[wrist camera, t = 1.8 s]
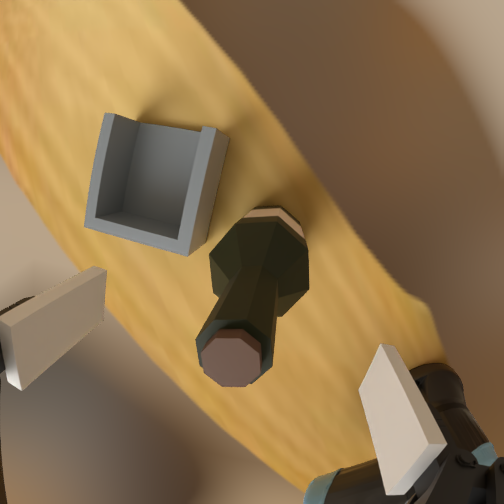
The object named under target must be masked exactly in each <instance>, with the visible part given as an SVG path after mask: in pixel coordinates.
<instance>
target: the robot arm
mask: <svg viewBox="0 0 504 504" xmlns="http://www.w3.org/2000/svg"><path fill="white" fill-rule="evenodd" d="M106 276H107V270H105V269H102V268H99V267H96V266H93V267H91V268H89V269H87V270H85V271H83V272H81V273H79V274H77V275H75V276H73V277H72V278H69V279H68V280H65V281H64V282H62V283H60V284H58V285H56V286H54V287H52V288H51V289H48V290H46V291H45V292H43V293H41V294H39V295H37V296H32V297H28V298H24V299H22V300H20V301H18V302H16V303H15V304H13V305H11V306H9V308H8V307H7V308H5V309H3V310H1V311H0V373H1V372H3V371H4V370H5V371H6V375H7V380H8V382H9V383H11V384H12V385H13V386H15V387H17V388H18V389H20V390H21V391H22V390H23V389H24V388H26V387H27V386H28V385H29V384H30V383H31V382H32V381H34V380H35V379H36V378H37V377H38V376H39V375H40V374H41V373H43V372H44V371H45V370H46V369H47V368H48V367H49V366H51V365H52V364H53V363H54V362H55V361H57V360H58V359H59V358H60V357H61V356H62V355H63V354H65V353H66V352H67V351H68V350H69V349H70V348H72V347H73V346H74V345H75V344H76V343H78V342H79V341H80V340H81V339H82V338H84V337H85V336H86V335H87V334H88V333H89V332H91V331H92V330H93V329H94V328H95V327H97V326H98V325H99V324H100V323H101V322H103V321H104V304H105V288H106ZM0 389H1V379H0ZM359 394H360V397H361V401H362V404H363V408H364V411H365V415H366V418H367V422H368V426H369V429H370V433H371V437H372V440H373V444H374V448H375V452H376V456H377V458H376V459H373V460H370V461H367V462H364V463H361V464H358V465H355V466H351V467H348V468H341V469H338V470H336V471H334V472H331V473H328V474H325V475H322V476H319V477H317V478H315V479H314V480H313V481H312V482H311V483H310V484H309V486H308V488H307V490H306V493H305V497H304V502H303V504H504V457H500V458H498V457H497V455H496V453H495V451H494V447H493V444H491V442H489V440H488V438H487V437H486V435H485V434H484V432H483V431H482V429H481V428H480V426H479V425H478V423H477V421H476V420H475V418H474V417H473V415H472V414H471V413H470V411H469V410H468V408H467V407H466V402H465V398H464V393H463V384H462V382H461V379H460V378H459V376H458V375H457V373H456V372H455V371H454V370H453V369H452V368H451V367H449V366H447V365H445V364H440V363H432V364H426V365H422V366H420V367H417V368H415V369H413V370H411V371H408V369H407V367H406V365H405V364H404V362H403V360H402V358H401V357H400V355H399V353H398V351H397V350H396V348H395V346H392V345H386V344H381V343H380V345H379V348H378V350H377V352H376V354H375V356H374V359H373V361H372V363H371V365H370V367H369V369H368V371H367V374H366V376H365V378H364V380H363V382H362V384H361V386H360V388H359ZM0 504H7V498H6V492H5V485H4V477H3V468H2V456H1V440H0Z"/></svg>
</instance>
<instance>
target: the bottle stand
mask: <svg viewBox="0 0 504 504" xmlns="http://www.w3.org/2000/svg"><path fill="white" fill-rule="evenodd" d="M229 140H230V138H229V137H227V136H226V135H225V134H223V133H222V132H220V131H219V130H218V129H216V128H211V127H206V126H203V127H202V131H201V132H198V131H192V130H186V129H180V128H174V127H168V126H161V125H155V124H147V123H140V122H137V121H134V120H132V119H129V118H126V117H123V116H120V115H117V114H112V113H105V114H104V118H103V122H102V127H101V131H100V135H99V140H98V144H97V149H96V154H95V159H94V164H93V170H92V175H91V181H90V187H89V193H88V200H87V207H86V215H85V223H84V227H86V228H89V229H93V230H96V231H100V232H103V233H106V234H110V235H113V236H117V237H120V238H124V239H127V240H131V241H134V242H138V243H141V244H145V245H148V246H152V247H155V248H159V249H162V250H166V251H170V252H173V253H177V254H180V255H184V256H189V255H190V254H192V253H193V252H194V251H196V250H197V249H198V248H200V247H201V246H202V245H203V244H205V243H206V239H207V234H208V229H209V225H210V220H211V216H212V211H213V207H214V202H215V198H216V194H217V189H218V185H219V181H220V177H221V172H222V168H223V164H224V160H225V156H226V152H227V148H228V144H229Z"/></svg>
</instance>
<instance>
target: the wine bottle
mask: <svg viewBox="0 0 504 504" xmlns="http://www.w3.org/2000/svg"><path fill="white" fill-rule="evenodd" d="M209 259H210V268H211V278H212V287H213V293H214V294H215V295H217V296H218V297H219V299H218V301H217V303H216V305H215V306H214V308H213V310H212V312H211V313H210V315H209V317H208V319H207V320H206V322H205V324H204V326H203V327H202V329H201V331H200V332H199V334H198V336H197V338H196V339H195V340H196V346H197V352H198V358H199V364H200V366H201V367H202V368H203V370H204V373H205V374H206V375H207V376H209V377H210V378H211V379H213V380H214V381H215V382H217V383H218V384H219V385H221V386H222V387H246V386H247V385H248V384H252V383H253V382H255V381H256V380H257V379H258V378H259V377H260V376H262V375H263V374H264V373H265V372H266V371H267V370H269V369H270V368H271V367H272V365H273V354H274V343H275V332H276V321H277V317H282V316H283V315H284V314H285V313H286V312H287V311H288V310H289V309H290V308H291V307H292V306H293V305H294V304H295V303H296V302H297V301H298V300H299V299H300V298H301V297H302V296H303V295H304V294H305V293H306V292H307V291H308V290H309V258H308V247H307V244H306V241H305V238H304V234H303V231H302V228H301V225H300V222H299V221H298V220H296V219H295V218H294V217H293V216H292V215H291V214H290V213H289V212H288V211H286V210H285V209H284V208H283V207H282V206H263V207H255V208H254V209H253V210H251V211H250V212H249V213H248V214H246V215H245V216H244V217H243V218H241V219H240V220H239V221H238V222H237V223H235V224H234V226H233V227H232V228H231V229H230V230H229V231H228V233H227V234H226V235H225V236H224V237H223V238H222V240H221V241H220V242H219V243H218V244H217V245H216V247H215V248H214V249H213V250H212V251H211V252H210V254H209Z"/></svg>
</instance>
